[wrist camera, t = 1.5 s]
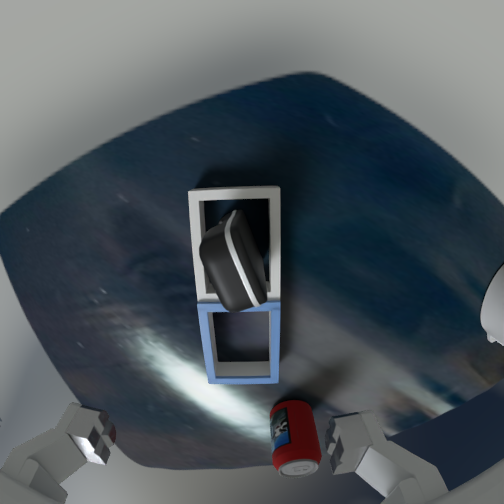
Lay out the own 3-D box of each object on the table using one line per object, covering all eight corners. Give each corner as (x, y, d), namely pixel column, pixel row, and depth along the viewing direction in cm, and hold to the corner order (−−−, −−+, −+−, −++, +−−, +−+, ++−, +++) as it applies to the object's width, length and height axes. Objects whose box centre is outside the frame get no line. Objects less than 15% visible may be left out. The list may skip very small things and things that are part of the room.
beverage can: (268, 398, 39) (272, 462, 28) (311, 393, 39) (325, 455, 28) (270, 423, 41) (274, 482, 30) (310, 419, 41) (321, 476, 30)
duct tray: (277, 185, 30) (280, 188, 27) (276, 366, 37) (278, 383, 34) (194, 188, 30) (187, 191, 27) (211, 367, 37) (208, 383, 34)
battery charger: (209, 218, 31) (187, 247, 20) (241, 205, 31) (236, 228, 20) (233, 273, 33) (225, 326, 22) (264, 262, 33) (270, 311, 22)
